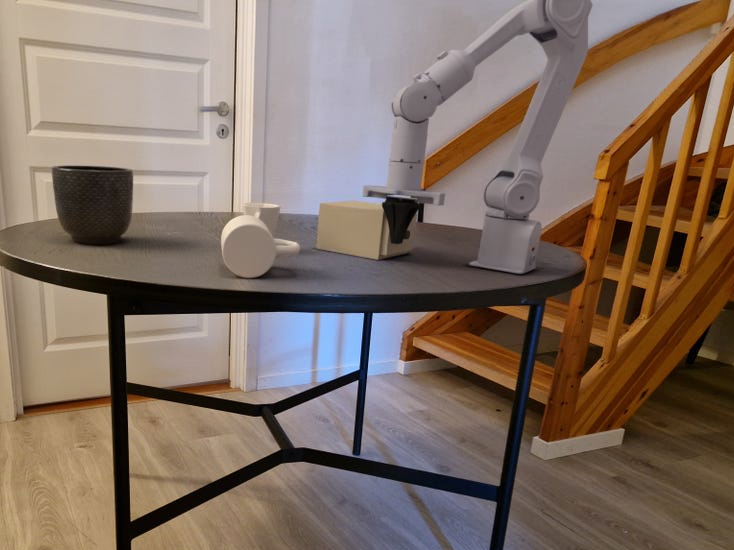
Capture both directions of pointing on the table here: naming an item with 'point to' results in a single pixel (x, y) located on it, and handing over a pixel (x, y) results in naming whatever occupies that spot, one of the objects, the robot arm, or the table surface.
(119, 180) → the planter
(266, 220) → the cup
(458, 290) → the table surface
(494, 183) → the robot arm
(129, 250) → the table surface
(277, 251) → the mug
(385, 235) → the drawer
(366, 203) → the cabinet
